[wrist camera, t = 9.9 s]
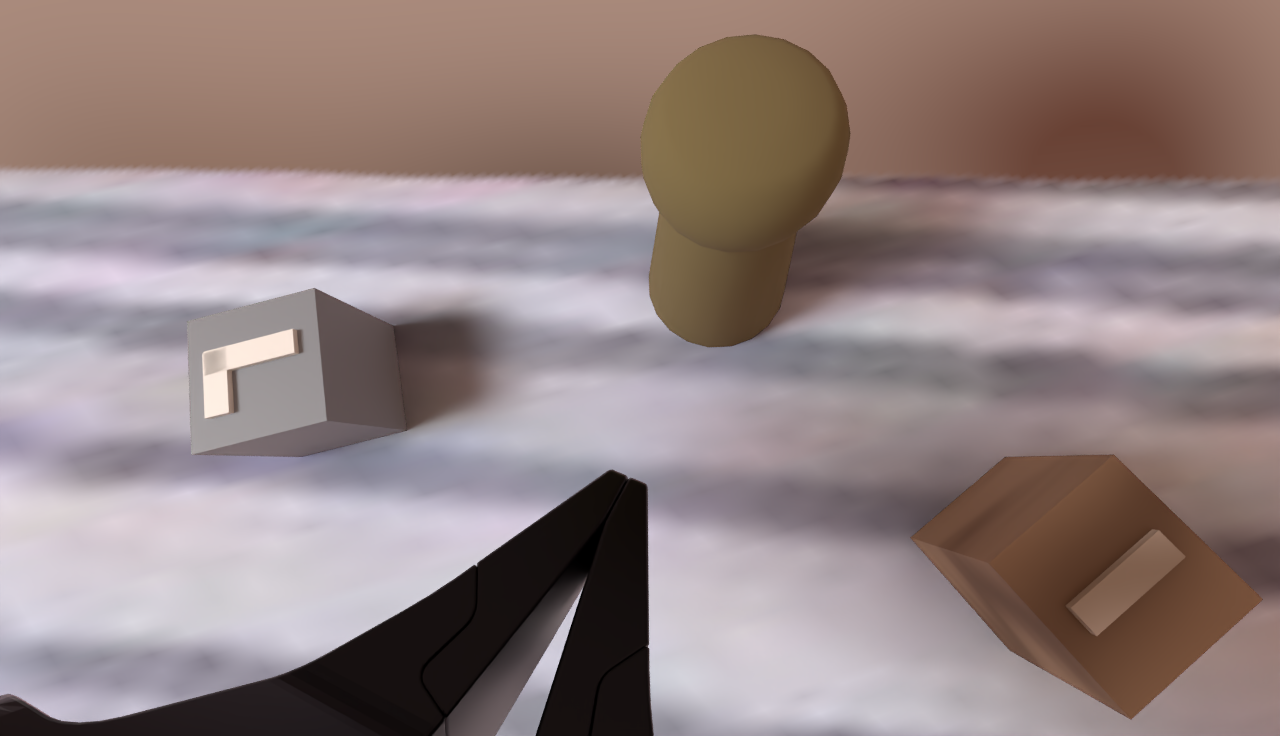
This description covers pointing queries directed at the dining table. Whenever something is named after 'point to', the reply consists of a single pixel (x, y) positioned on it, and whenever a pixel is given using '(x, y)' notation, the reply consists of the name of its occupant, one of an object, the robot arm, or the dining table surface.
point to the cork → (737, 180)
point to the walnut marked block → (1086, 574)
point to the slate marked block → (291, 378)
